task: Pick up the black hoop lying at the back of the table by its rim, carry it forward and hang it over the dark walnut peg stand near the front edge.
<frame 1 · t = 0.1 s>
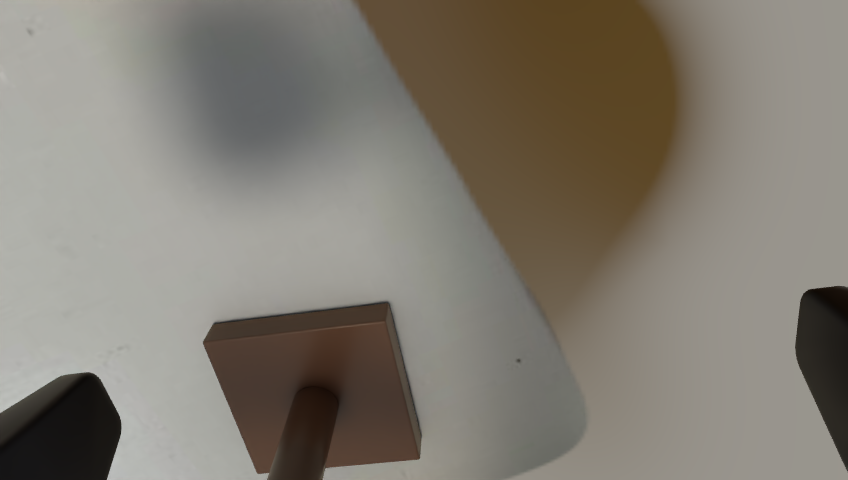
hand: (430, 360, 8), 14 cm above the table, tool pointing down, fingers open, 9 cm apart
peg stand: (321, 383, 26), on the table
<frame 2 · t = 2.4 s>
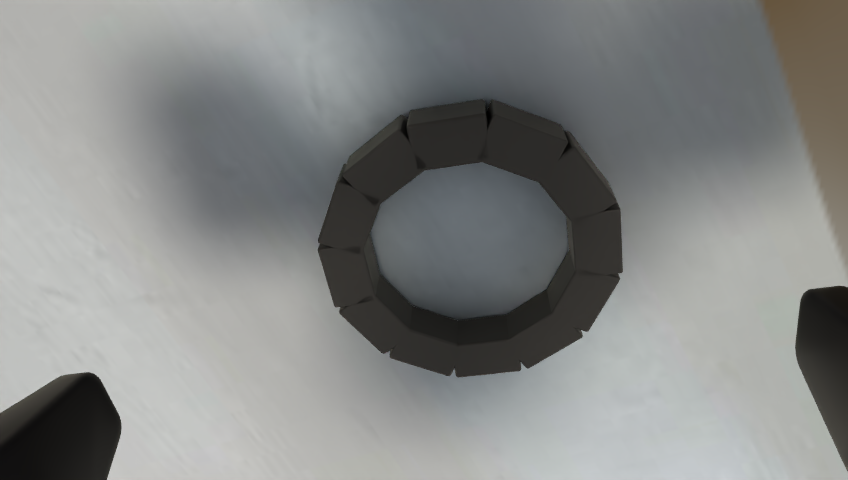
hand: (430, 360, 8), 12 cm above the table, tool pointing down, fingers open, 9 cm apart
hoop: (469, 238, 21), on the table
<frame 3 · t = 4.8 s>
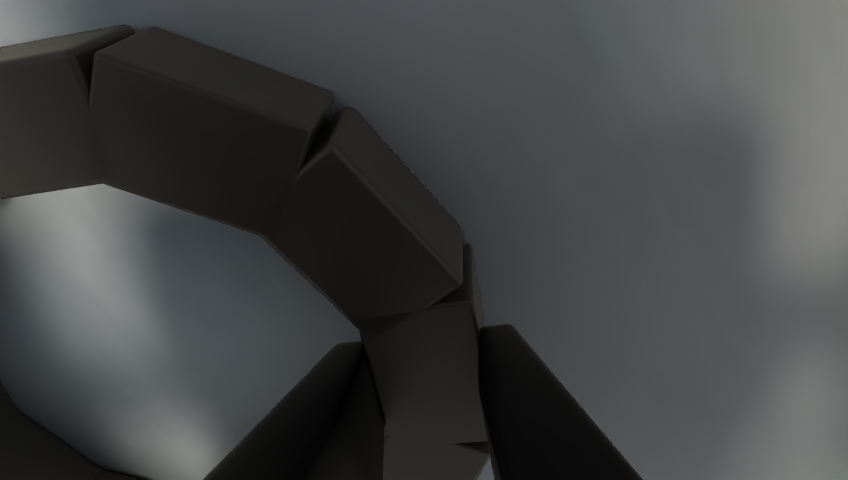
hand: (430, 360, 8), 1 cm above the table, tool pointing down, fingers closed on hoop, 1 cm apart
hoop: (181, 345, 10), on the table, touching gripper
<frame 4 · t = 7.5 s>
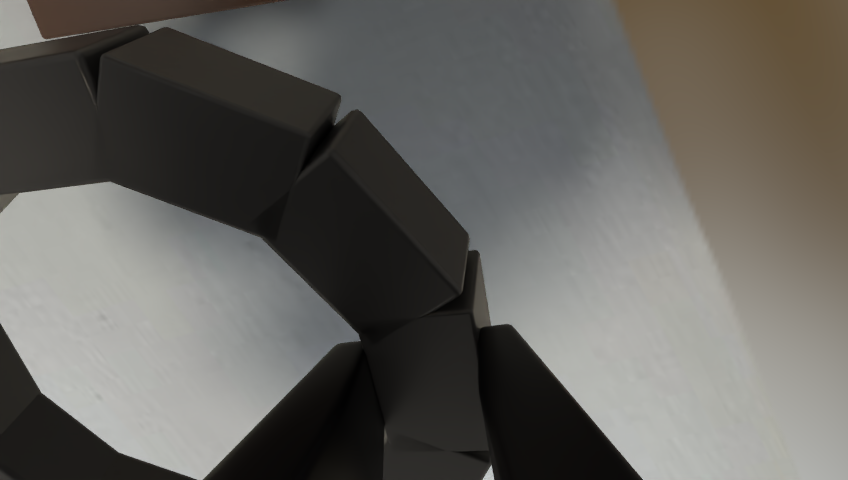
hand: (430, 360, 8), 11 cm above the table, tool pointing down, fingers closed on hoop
hoop: (194, 338, 10), point 10 cm above the table, touching gripper
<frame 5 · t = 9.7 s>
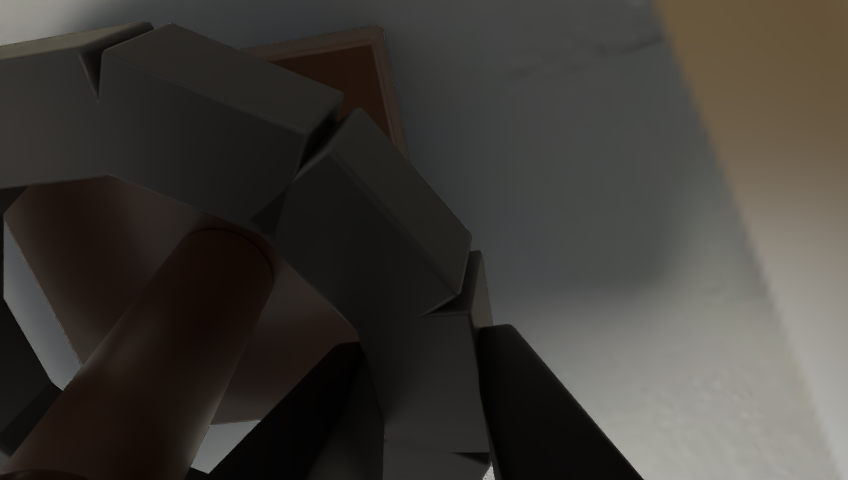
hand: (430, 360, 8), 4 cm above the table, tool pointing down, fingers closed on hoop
peg stand: (242, 240, 13), on the table
hoop: (199, 332, 10), point 3 cm above the table, tilted 7°, touching gripper
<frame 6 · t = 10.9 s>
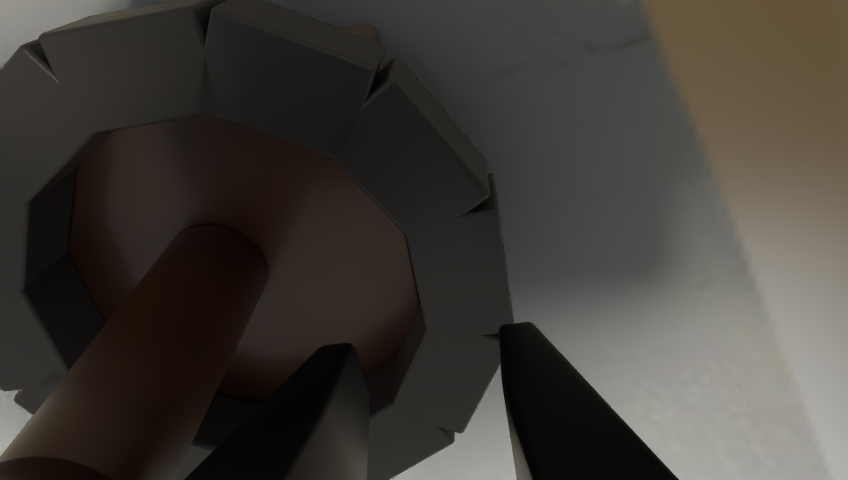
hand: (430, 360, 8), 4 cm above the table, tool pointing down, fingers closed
peg stand: (237, 236, 13), on the table
hoop: (249, 265, 12), point 1 cm above the table, touching peg stand
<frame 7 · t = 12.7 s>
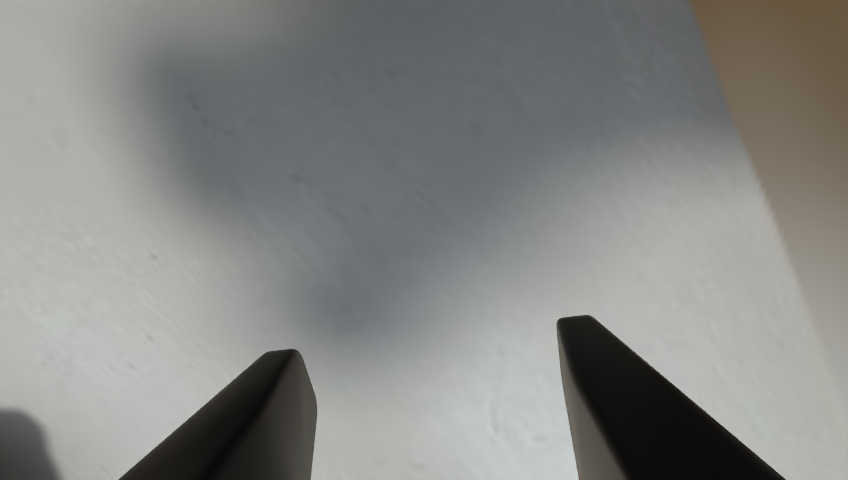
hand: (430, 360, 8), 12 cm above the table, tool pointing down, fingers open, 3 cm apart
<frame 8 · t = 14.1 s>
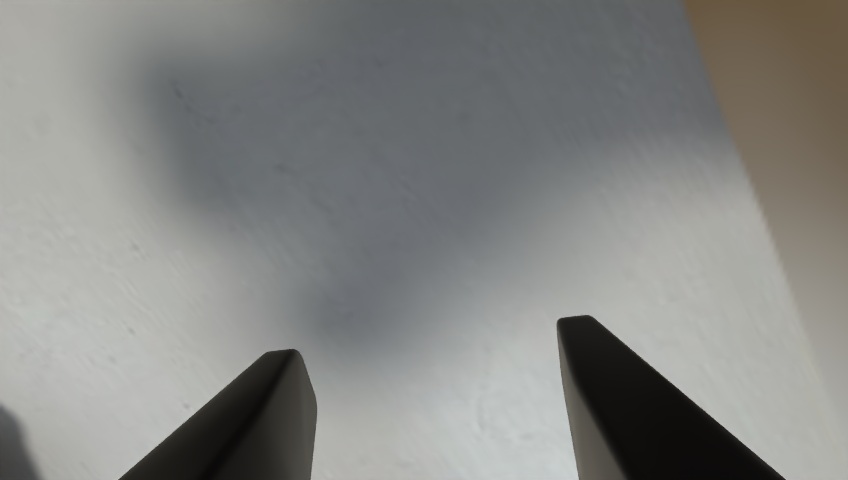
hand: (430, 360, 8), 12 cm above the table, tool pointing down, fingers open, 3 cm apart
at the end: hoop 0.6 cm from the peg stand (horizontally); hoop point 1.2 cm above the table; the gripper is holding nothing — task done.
